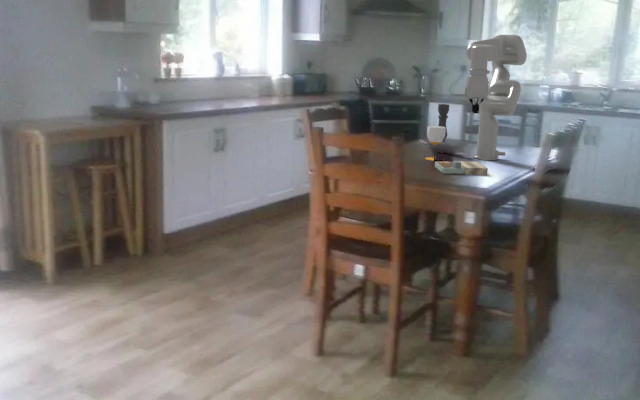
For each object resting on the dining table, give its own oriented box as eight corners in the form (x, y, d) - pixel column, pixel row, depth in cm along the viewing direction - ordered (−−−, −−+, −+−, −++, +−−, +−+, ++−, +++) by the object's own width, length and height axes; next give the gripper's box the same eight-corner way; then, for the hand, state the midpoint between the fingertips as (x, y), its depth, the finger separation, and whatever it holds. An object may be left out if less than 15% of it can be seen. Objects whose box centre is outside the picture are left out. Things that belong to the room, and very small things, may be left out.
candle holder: (446, 151, 357) (450, 104, 351) (444, 153, 351) (449, 105, 345) (435, 150, 359) (438, 103, 353) (433, 152, 353) (436, 104, 347)
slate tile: (458, 160, 302) (453, 160, 301) (461, 162, 297) (455, 162, 297) (457, 170, 303) (452, 170, 302) (460, 172, 298) (454, 172, 298)
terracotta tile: (438, 161, 310) (438, 166, 311) (440, 162, 306) (440, 168, 307) (448, 161, 311) (447, 166, 311) (450, 163, 306) (450, 168, 307)
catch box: (454, 167, 313) (455, 162, 312) (463, 174, 297) (464, 168, 297) (434, 166, 313) (435, 161, 312) (442, 173, 297) (442, 168, 296)
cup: (439, 161, 326) (441, 128, 322) (421, 159, 331) (424, 126, 327) (446, 159, 334) (448, 127, 330) (429, 157, 338) (431, 125, 334)
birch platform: (477, 168, 314) (477, 161, 313) (487, 175, 298) (487, 168, 297) (455, 167, 313) (456, 161, 312) (464, 174, 298) (465, 167, 297)
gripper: (491, 72, 314) (488, 111, 319) (460, 72, 313) (457, 111, 318) (496, 74, 306) (493, 114, 311) (464, 73, 306) (461, 114, 311)
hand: (475, 112), depth 315 cm, fingers closed
